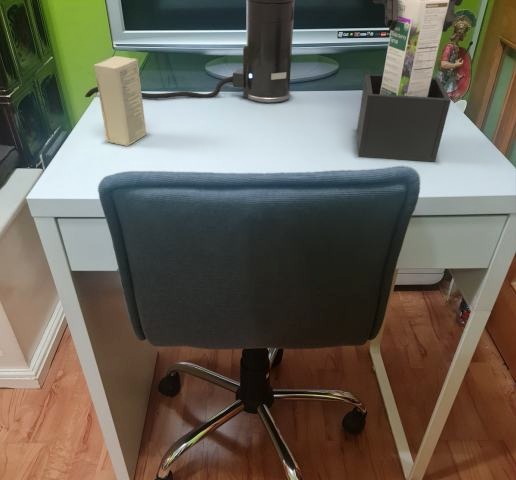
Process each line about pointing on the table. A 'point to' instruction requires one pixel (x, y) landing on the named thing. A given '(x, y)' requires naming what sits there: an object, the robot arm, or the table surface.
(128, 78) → the cosmetic box
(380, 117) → the waste bin
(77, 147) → the table surface
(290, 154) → the table surface
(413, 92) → the syrup box
